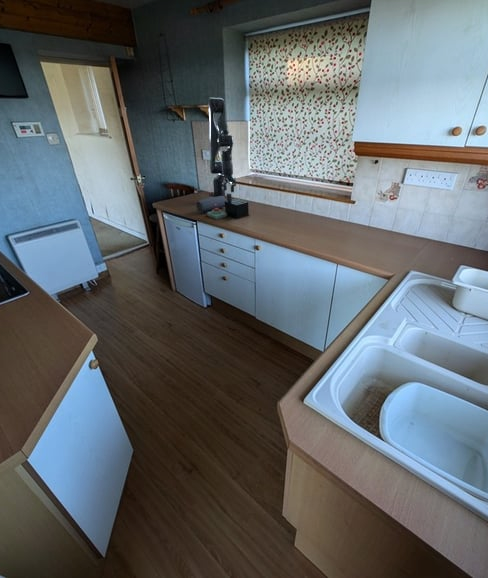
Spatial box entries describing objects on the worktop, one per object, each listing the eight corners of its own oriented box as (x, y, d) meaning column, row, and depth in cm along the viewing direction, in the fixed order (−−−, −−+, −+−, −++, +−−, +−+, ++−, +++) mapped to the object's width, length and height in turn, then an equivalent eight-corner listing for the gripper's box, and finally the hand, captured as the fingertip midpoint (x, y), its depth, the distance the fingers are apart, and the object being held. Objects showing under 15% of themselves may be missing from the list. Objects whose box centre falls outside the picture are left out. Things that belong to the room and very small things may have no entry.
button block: (206, 215, 218) (206, 210, 216) (217, 212, 224) (217, 207, 222) (216, 219, 211) (215, 213, 209) (227, 216, 216) (226, 210, 214)
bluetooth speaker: (203, 215, 219) (202, 201, 214) (196, 212, 225) (195, 199, 220) (227, 209, 232) (226, 196, 227) (220, 206, 238) (219, 194, 233)
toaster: (225, 214, 220) (224, 201, 214) (236, 211, 226) (236, 198, 221) (237, 219, 210) (236, 204, 205) (249, 215, 217) (248, 201, 212)
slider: (227, 200, 214) (226, 193, 211) (229, 200, 215) (229, 193, 213) (229, 201, 213) (228, 194, 210) (231, 200, 214) (231, 193, 211)
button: (213, 211, 216) (212, 208, 215) (217, 210, 218) (216, 207, 217) (215, 212, 213) (215, 209, 212) (219, 211, 215) (219, 208, 214)
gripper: (238, 167, 200) (239, 192, 208) (225, 165, 209) (227, 188, 217) (229, 169, 195) (230, 193, 204) (216, 166, 205) (218, 190, 213)
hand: (228, 191), depth 210 cm, fingers open, 8 cm apart
